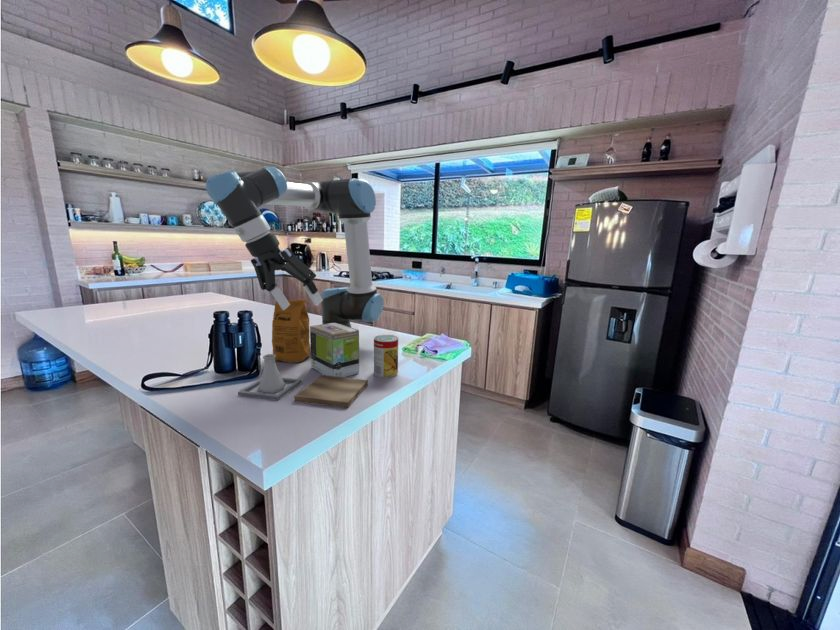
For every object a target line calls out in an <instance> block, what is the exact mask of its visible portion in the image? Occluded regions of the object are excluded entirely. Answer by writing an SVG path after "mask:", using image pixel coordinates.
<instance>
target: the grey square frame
mask: <svg viewBox="0 0 840 630" xmlns="http://www.w3.org/2000/svg"><path fill="white" fill-rule="evenodd" d="M281 377H282V376H281ZM282 379H283V381H284V383H285V384H286V383H288V384H290V385H289V386H287V387H286V388H284V389H283V390H280V391H279V393H277V394H275V393H261V392H258V391H256V392H255V391H252V390H253V389H255V388H258V386H259V383H260V380H261V378H260V379H257V380H256V381H255V382H253V383H251V384H248V385H247V386H245V387H244V388H242V389H240V390H239V391H237V396H239V397H246V398H256V399H257V398H258V399H264V400H271V401H272V400H273V401H279V400H280V399H282V398H283V397H285V396H286V395H288V394H289V393H290V392H292V391H293V390H294V389H296V388H298V386H299V385H301V384H302V383H303V380H302V379H299V378H290V377H282Z"/></svg>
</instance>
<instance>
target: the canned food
mask: <svg viewBox="0 0 840 630" xmlns="http://www.w3.org/2000/svg"><path fill="white" fill-rule="evenodd" d="M397 373H398V374H399V337H398V336H396V335H394V334H393V335H392V334H381V335H380V334H378V335H376V336H374V337H373V375H374V376H376V377H378V378H383V377H388V378H392V377H391V376H393V377H395V375H396V374H397ZM398 374H397V375H398ZM397 375H396V376H397Z"/></svg>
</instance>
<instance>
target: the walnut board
mask: <svg viewBox="0 0 840 630" xmlns="http://www.w3.org/2000/svg"><path fill="white" fill-rule="evenodd" d="M368 384H369V380H368V379H359V378H351V377H334V376H326V375H324V374H322V375H321V374H320V375H319V376H318V377H317V378H316V379H314V380H313V381H312V382H311V383H310V384H308V385H307V386H306V387H304V388H302V390H300V391H299V392H298V393H297V394H295V395H294V402H296V403H305V404H311V405H320V406H330V407H336V408H337V407H338V408H347V409H348V408H350V407H351V405H352V404H353V403H354V402H355V401H356V400H357V398H358V397H359V396H360V395H359V394H361V393H362V392H363V391H364V390H365V389H366V388H367V386H368ZM365 387H366V388H365ZM364 388H365V389H364ZM363 389H364V390H363ZM358 395H359V396H358Z"/></svg>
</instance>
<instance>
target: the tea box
mask: <svg viewBox="0 0 840 630" xmlns="http://www.w3.org/2000/svg"><path fill="white" fill-rule="evenodd" d="M351 327H352V326H351ZM351 327H348V326H345V325H341V324H338V323H328V324H322V323H321V324H316V325H309V331H310V333H309V336H310V338H309V344H310V364H311V368H312V369H314V370H315V371H318V372H319V373H321V374H322V375H324V376H334V377H343V378H348V377H350V376H353V375H358V374H359V373H360V330H359V329H358V328H357V329H356V328H354V327H352V328H351Z"/></svg>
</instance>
